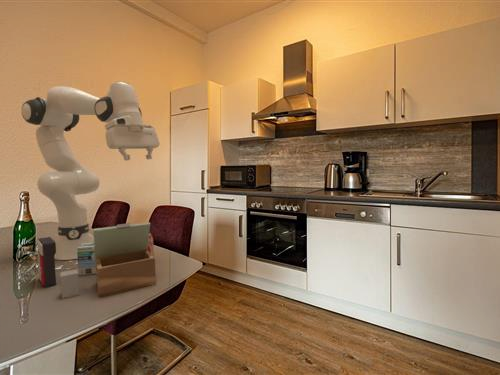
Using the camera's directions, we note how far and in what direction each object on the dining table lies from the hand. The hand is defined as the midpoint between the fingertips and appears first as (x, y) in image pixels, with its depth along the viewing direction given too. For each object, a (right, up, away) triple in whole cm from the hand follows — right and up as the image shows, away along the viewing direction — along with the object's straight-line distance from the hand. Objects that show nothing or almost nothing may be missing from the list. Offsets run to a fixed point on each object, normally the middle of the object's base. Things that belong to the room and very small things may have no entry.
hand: (138, 159), depth 103 cm
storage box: (0, -44, -10) cm, 45 cm away
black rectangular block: (-29, -44, -7) cm, 54 cm away
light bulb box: (-18, -44, +3) cm, 47 cm away
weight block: (-15, -45, -17) cm, 50 cm away
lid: (-2, -29, -9) cm, 31 cm away
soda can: (-2, -43, +11) cm, 44 cm away
